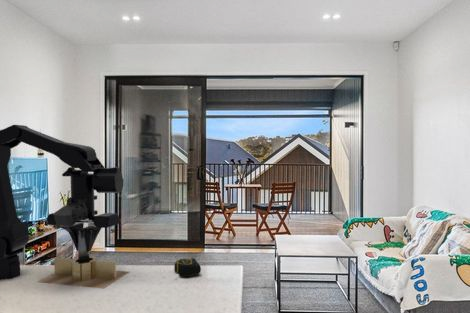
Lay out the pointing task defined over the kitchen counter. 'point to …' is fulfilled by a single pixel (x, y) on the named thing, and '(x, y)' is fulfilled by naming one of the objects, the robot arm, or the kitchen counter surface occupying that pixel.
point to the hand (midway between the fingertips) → (83, 251)
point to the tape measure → (187, 267)
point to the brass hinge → (85, 269)
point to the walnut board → (87, 283)
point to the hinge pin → (82, 247)
